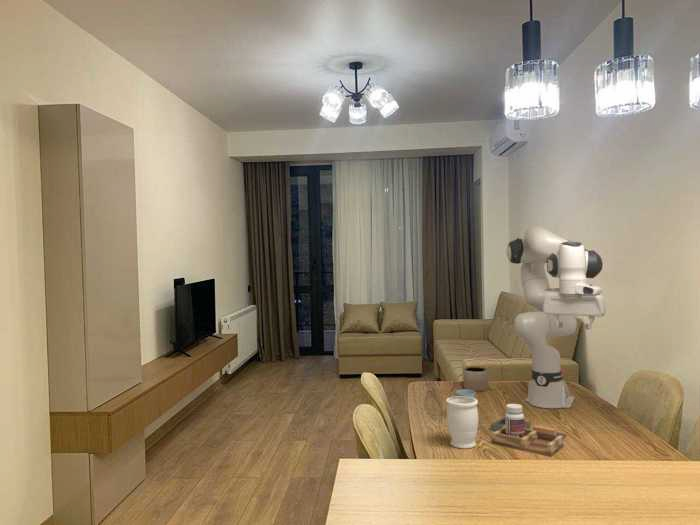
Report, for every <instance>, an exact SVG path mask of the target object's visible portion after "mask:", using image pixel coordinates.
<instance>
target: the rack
mask: <svg viewBox="0 0 700 525" xmlns="http://www.w3.org/2000/svg"><path fill="white" fill-rule="evenodd" d="M503 426H504V427H502V428H501V429H499V430H497V431H494V432H492V439H491V444H494V445H497V446H501V447H507V448H511V449H515V450H520V451H523V452H528V453H532V454H537V455H543V456H547V457H553V456H554V455H556V454H557V453H558V452H559V451H560V450H561V449H562V448H564V444H565V443H564V439H563V436H562V435H559V436H558V437H556V438H555V439H554V440H553V441H549V440H544V439H539V438H538V436H537V431H536V430H533V429H531V428H530V429H525V437H523V438H519V437H515V436H510V435H506V427H505V425H503Z"/></svg>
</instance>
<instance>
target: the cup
mask: <svg viewBox="0 0 700 525" xmlns="http://www.w3.org/2000/svg"><path fill="white" fill-rule="evenodd" d="M454 392H455V394H454V395H455V397H456V396H465V397H471V398H475V399H476V392H475V391H473V390H466V389H457V390H455V391H454Z"/></svg>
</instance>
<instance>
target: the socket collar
mask: <svg viewBox="0 0 700 525" xmlns="http://www.w3.org/2000/svg"><path fill="white" fill-rule="evenodd" d="M524 425H525V429H530V430H531V422H529V421H525V420H524ZM504 426H505V417H502V418H500V419H498V420H496V421H494V422H492V423H490V431H494V432H496V431H497V430H499V429H501V428H502V427H504Z"/></svg>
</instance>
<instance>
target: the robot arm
mask: <svg viewBox="0 0 700 525" xmlns="http://www.w3.org/2000/svg"><path fill="white" fill-rule="evenodd" d="M506 246H507V247H506V257H507V258H508V261H509V262H510V263H512V264H516V265H520V264H521V266H520V281H521V286H522V287H521V288H522V291H523V295H524V300H525V302H526V304H528V305H529V306H530V307H532V308H534V309H536V310H537V311H528V312H523V313H519V314H518V315H516V317H515V318H514V321H513V327H514V328H513V329H514V331H515V333H516V334H517V335H518V336H519V337H520V338H522V339H523V341H525V342H526V344H527V345H528V347H529V350H530V353H531V360H532V361H531V364H532V365H531V366H532V369H531V374H530V375H531V380H530V381H529V382H528V391H527V393H528V396H527V397H526V398H525V400H524V401H525V402H527V403H528V404H529V405H532V406H534V407H537V408H544V409H561V408H562V409H565V408H566V409H567V408H568V409H569V408H572V405H573V404H574V402H573V401H575V400H574V399H575V396H573V395H570V392H569V386H568V385H567V383H566V382H565V381H564V378H563V375H564V369H562V368H561V353H560V352H559V350H558V349H556V347H553V346H552V345H550V344H548V343H547V338H563V337H568V336H573V334H575V332H576V331H577V328H578V320H577V319H576V316H579V317H588V320H589V321H588V323H585V325H584V326H585V328H584V329H585V330H592V325H593V322H594V321H595V320H596V317H598V318H599V317H604V316H605V315H606V314H607V308H606V307H607V306H606V300H605V298H604V295H602V292H603V289H602V287H600V286H598V285H594V284H591V283H588V280H587V279H594V278H596V277H597V276H598V275H599V274H601V272H602V270H603V260H602V257H601V256H600V254H599V253H598V252H596V251H595V250H592V249H591V250H588V249H586V248H585V245H584V244H583V243H582V242H579V241H571V240H569V239H566V238H563V237H561V236H559V235H557V234H556V233H554V232H552V231H551V230H550V229H548V228H546V227H545V226H544V225H539V224H538V225H537V224H534V225H532V226H530V227H528V229H527V230H526V231H525V232H524V238H519V237H518V238H516V239H514V240H510V242H508V244H507V245H506ZM545 265H546V271H547V273H548V274H549V275H550V276H551V277H552V278H556V279H558V284H559V286H558V287H557V288H556V287H555V288H552V287H551V286H550V282H549V279H548V276H547V274H546V271H545ZM572 403H573V404H572Z"/></svg>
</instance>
